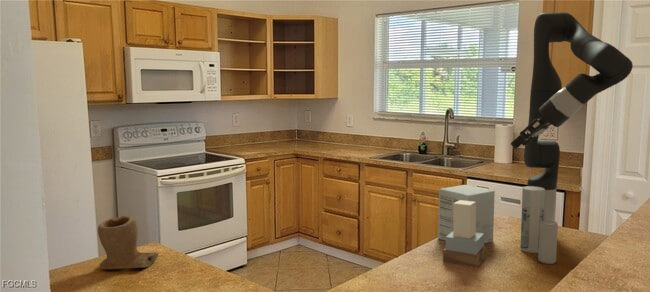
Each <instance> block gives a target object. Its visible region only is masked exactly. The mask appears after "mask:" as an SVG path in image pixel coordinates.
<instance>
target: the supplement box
mask: <svg viewBox="0 0 650 292" xmlns="http://www.w3.org/2000/svg"><path fill="white" fill-rule="evenodd" d="M495 193H496V191H495V190H493V189H489V188H488V189H487V188H483V187H477V186H475V185H468V184H461V185H454V186H449V187H448V186H447V187H443V188H438V225H437V226H438V227H437V238H438V239H440V240H442V241H445V242H446V236H447V235H449V234H450V233H451V232H452V231H453V203H455V202H457V201H459V200H464V201H473V202H476V232H477V233H484V244H487V243H490V242H493V241H494V225H495V223H494V220H495Z"/></svg>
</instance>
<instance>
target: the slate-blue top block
mask: <svg viewBox="0 0 650 292" xmlns="http://www.w3.org/2000/svg"><path fill="white" fill-rule="evenodd" d="M483 246H485V243H484V233H477V232H476V235H474V236H473V237H471V238H470V239H468V238H462V237H456V236H453V231H452V232H451V233H450V234H449V235H447V236H446V241H445V248H444V249H445V250H449V251H455V252H461V253H467V254H473V255H476V254H477V253H478V252H479V251H480V250H481V249H482V248H483Z"/></svg>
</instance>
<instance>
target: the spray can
mask: <svg viewBox="0 0 650 292" xmlns="http://www.w3.org/2000/svg"><path fill="white" fill-rule="evenodd" d="M521 193H522V194H521V195H522V196H521V217H520V218H521V223H520V224H521V225H520V226H521V227H520V246H519V247H520V250H521V251H522V252H525V253H529V254H539V234H540V223H541V221H543V216H544V198H545V189H544V188H541V187H534V186H527V185H526V186H522V190H521Z"/></svg>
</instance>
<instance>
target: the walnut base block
mask: <svg viewBox="0 0 650 292" xmlns="http://www.w3.org/2000/svg"><path fill="white" fill-rule="evenodd" d="M442 251H443V252H442V262H443V263H450V264H456V265H460V266H465V265H466V266H467V267H471V266H472V268H478V267H479V266H480V264H482V263H483V261H484V260H485V259H484V258H486V257H487V256H486V253H487V252H486V251H487V247H486V245H484V246H483V248H482V249H481V250H480V251H479V252H478V253H477V254H476V255H473V254H467V253H461V252H455V251H449V250H445V248H443V250H442Z"/></svg>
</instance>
